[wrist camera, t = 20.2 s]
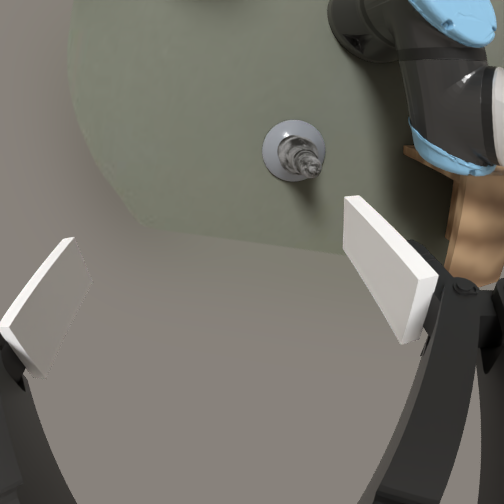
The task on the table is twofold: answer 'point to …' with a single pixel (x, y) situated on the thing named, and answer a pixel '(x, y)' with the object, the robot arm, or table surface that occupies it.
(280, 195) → the table surface
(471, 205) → the walnut shelf
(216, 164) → the table surface
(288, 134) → the saucer
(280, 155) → the grey figurine
